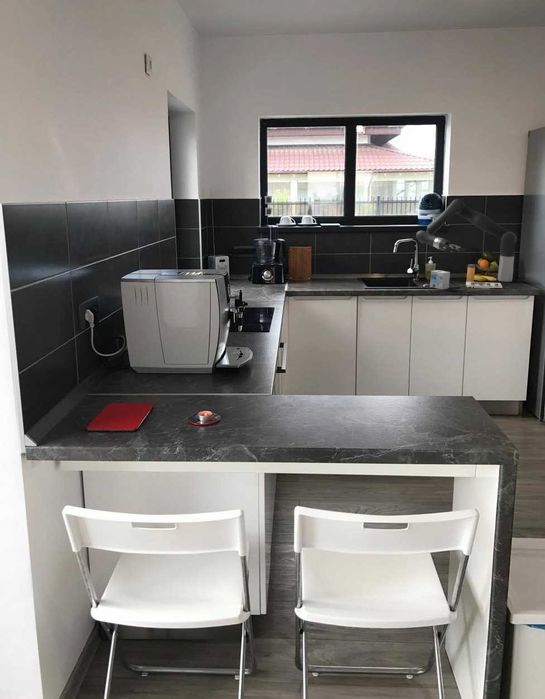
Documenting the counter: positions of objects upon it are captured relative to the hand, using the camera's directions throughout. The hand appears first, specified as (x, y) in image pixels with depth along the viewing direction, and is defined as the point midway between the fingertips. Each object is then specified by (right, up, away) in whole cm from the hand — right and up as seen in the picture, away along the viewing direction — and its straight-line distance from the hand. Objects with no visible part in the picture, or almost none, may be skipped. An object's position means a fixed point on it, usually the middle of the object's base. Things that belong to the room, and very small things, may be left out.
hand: (461, 251), depth 464 cm
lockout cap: (+6, -21, +1) cm, 22 cm away
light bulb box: (-20, -27, -19) cm, 38 cm away
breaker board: (+11, -25, -13) cm, 30 cm away
